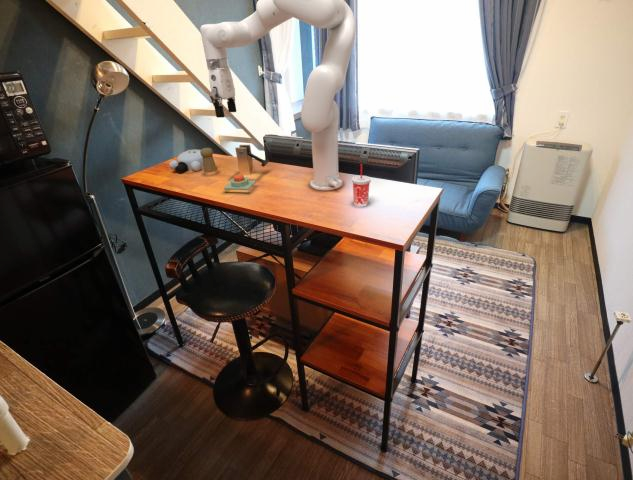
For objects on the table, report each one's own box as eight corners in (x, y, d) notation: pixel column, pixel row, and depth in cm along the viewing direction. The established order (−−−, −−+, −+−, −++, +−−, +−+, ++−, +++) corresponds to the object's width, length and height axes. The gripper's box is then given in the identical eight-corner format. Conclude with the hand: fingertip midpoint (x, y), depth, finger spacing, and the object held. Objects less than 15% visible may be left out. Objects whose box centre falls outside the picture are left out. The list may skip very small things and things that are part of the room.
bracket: (264, 173, 148) (260, 143, 142) (257, 180, 141) (252, 149, 134) (238, 172, 151) (233, 143, 144) (230, 179, 143) (224, 149, 137)
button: (245, 179, 133) (244, 174, 132) (241, 182, 130) (241, 178, 129) (236, 178, 133) (236, 174, 133) (233, 182, 130) (232, 177, 130)
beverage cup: (348, 202, 117) (348, 162, 110) (364, 198, 119) (364, 159, 112) (357, 209, 113) (357, 168, 105) (373, 205, 115) (374, 164, 107)
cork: (220, 170, 154) (215, 146, 148) (215, 175, 149) (209, 150, 143) (207, 171, 155) (201, 146, 149) (202, 175, 150) (196, 150, 144)
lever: (267, 164, 144) (269, 159, 142) (263, 168, 140) (265, 163, 138) (241, 149, 143) (243, 144, 141) (237, 153, 139) (238, 148, 137)
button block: (256, 185, 136) (255, 176, 134) (249, 193, 129) (247, 183, 127) (233, 185, 138) (231, 175, 136) (224, 193, 131) (222, 183, 129)
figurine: (190, 160, 168) (165, 179, 153) (184, 143, 163) (158, 161, 148) (221, 162, 164) (198, 181, 149) (216, 144, 159) (192, 163, 143)
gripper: (215, 66, 115) (224, 119, 124) (238, 62, 129) (245, 110, 138) (195, 67, 117) (206, 119, 125) (220, 63, 131) (228, 110, 140)
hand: (226, 114), depth 132 cm, fingers open, 9 cm apart
